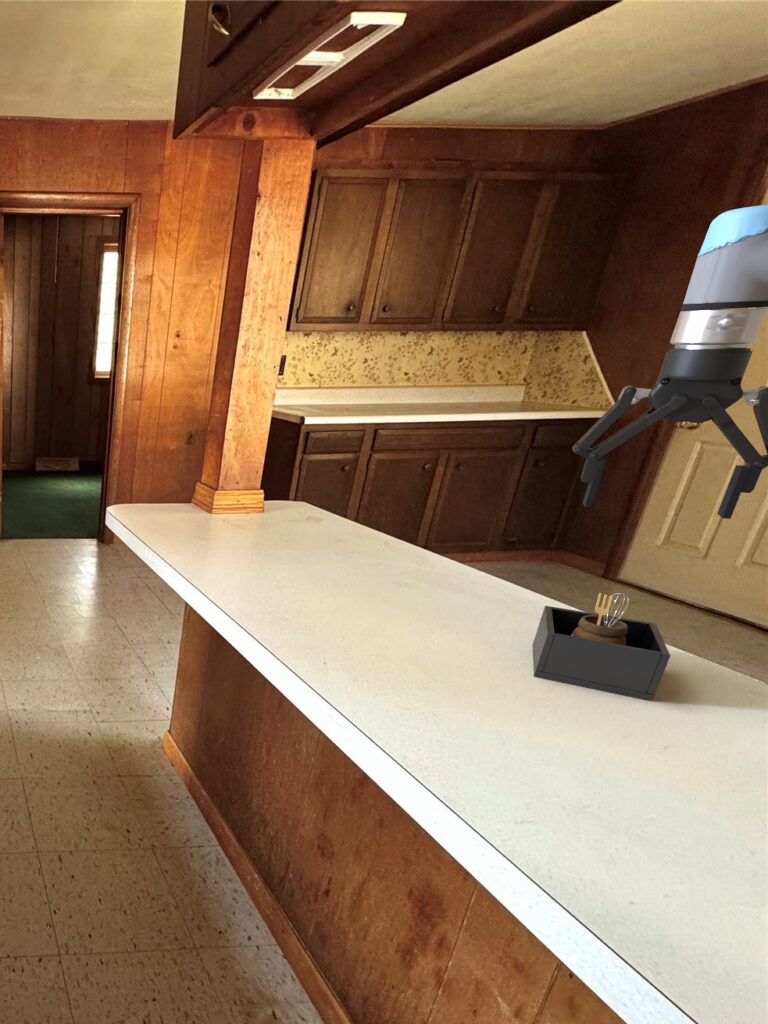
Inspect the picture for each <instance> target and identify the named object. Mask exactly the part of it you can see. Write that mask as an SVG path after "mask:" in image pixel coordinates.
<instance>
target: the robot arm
mask: <svg viewBox="0 0 768 1024" xmlns="http://www.w3.org/2000/svg"><path fill="white" fill-rule="evenodd" d="M682 304H683V305H682V306H681V310H680V311H679V315H678V318H677V320H676V323H675V326H674V329H673V332H672V334H671V338H670V340H669V343H670V344H671V345H674V347H673V348H671V349H669V351H666V354H665V356H664V359H663V362H662V365H661V368H660V372H659V375H658V377H657V380H656V383H655V384H653V386H652V387H651V388H645V387H644V388H643V387H635V386H632V385H625V386H624V387H622V389H621V391H620V392H619V395H618V397H617V400H616V401H615V403H614V404H613V405H611V406H610V408H608V410H606V411H605V413H603V415H602V416H601V417H600V418H599V419H598V420H597V421H596V422H595V423H594V424H593V425H592V426H591V427H590V428H589V429H588V430H587V431H586V432H585V433H584V434H583V435H582V436H581V438H579V440H578V441H576V443H575V444H573V446H572V448H571V449H572V452H573V454H575V455H578V456H581V457H584V459H585V461H584V465H583V468H582V471H581V475H580V479H581V481H582V483H588V486H587V488H586V490H585V491H586V492H585V494H584V497H583V501H582V504H583V506H584V507H585V508H593V504H594V501H595V498H596V495H597V492H598V489H599V486H600V483H601V480H602V477H603V473H604V470H605V466H606V463H607V461H606V459H605V458H603V457H604V456H605V455H607V454H608V453H610V452H611V451H613V450H614V449H616V448H618V447H619V446H620V445H622V444H624V443H625V442H627V441H628V440H630V439H631V438H633V437H635V436H636V435H638V434H639V433H640V432H642V431H644V430H645V429H647V428H649V427H650V426H653V425H654V424H655V423H657V422H659V421H660V420H663V421H665V422H667V423H682V422H688V423H692V424H703V423H705V422H709V421H711V422H712V423H713V424H714V425H715V426H716V428H717V429H718V430H719V431H720V432H721V434H722V435H723V436H724V438H726V440H727V441H728V443H730V445H731V446H732V447H733V448H734V450H735V451H736V452H737V454H738V455H739V456H740V457H741V458H742V460H743V461H744V462H745V465H741V464H740V465H738V464H736V465H735V467H734V469H733V472H732V475H731V477H730V480H729V482H728V485H727V486H726V490H725V493H724V495H723V498H722V500H721V503H720V505H719V508H718V510H717V515H718V516H719V517H720V518H721V519H728V520H731V519H732V517H733V514H734V511H735V509H736V506H737V505H738V502H739V500H740V496H741V494H742V493H743V494H744V493H745V494H751V493H752V492H753V491H754V490H755V489H756V486H757V483H758V480H759V478H760V476H761V474H762V471H763V470H764V469H766V468H767V467H768V386H767V385H763V386H762V385H761V386H759V387H757V388H755V387H754V388H743V387H742V381H743V378H744V376H745V373H746V371H747V368H748V365H749V364H750V363H749V362H750V360H751V357H752V354H753V352H754V351H753V350H752V348H751V347H749V348H748V346H749V344H754V343H756V342H757V341H758V338H759V336H760V333H761V330H762V327H763V325H764V322H765V319H766V316H767V314H768V204H761V205H754V206H753V205H752V206H747V207H740V208H735V209H730V210H726V211H724V212H722V213H721V214H719V215H718V216H717V217H715V218H714V219H713V220H711V222H710V224H709V228H708V230H707V232H706V235H705V238H704V240H703V241H702V245H701V247H700V250H699V252H698V254H697V257H696V261H695V264H694V267H693V271H692V274H691V276H690V280H689V283H688V287H687V290H686V293H685V297H684V300H683V302H682ZM645 398H647V399H648V401H649V403H650V404H651V406H652V407H651V408H650V409H648V410H646V412H644V413H642V414H641V415H640V416H639V417H637V418H636V419H635V420H633V421H631V422H630V423H628V424H627V425H625V426H624V427H622V428H621V429H619V430H618V431H617V432H615V433H613V434H612V435H611V436H609V437H608V438H606V439H604V440H603V441H601V442H600V443H598V444H597V445H596V446H594V447H591V446H592V445H593V444H594V443H595V442H596V441H597V440H598V439H599V438H600V437H601V436H602V435H603V434H604V433H605V432H606V431H607V430H608V429H609V428H610V427H611V426H612V425H613V424H614V423H615V422H616V421H617V420H618V419H619V418H620V417H621V416H622V415H623V414H624V413H625V412H626V410H628V409H629V407H630V406H631V405H636V404H638V403H639V402H640V401H641V400H642V399H645ZM741 399H744V400H745V403H746V405H748V406H751V407H752V410H753V414H754V417H755V420H756V423H757V426H758V430H759V433H760V435H761V439H762V442H763V446H764V448H765V451H766V454H763V455H762V454H760V453H759V451H758V450H757V449H756V447H755V446H754V445H753V444H752V442H750V440H749V439H748V438H747V436H746V435H745V434H744V433H743V431H742V430H741V429H740V428H739V426H738V425H737V424H736V423H735V421H734V419H733V418H732V417H731V416H730V414H729V413H728V412H727V411H726V410H727V409H728V408H730V407H731V406H733V405H734V404H736V403H737V402H738V401H740V400H741Z"/></svg>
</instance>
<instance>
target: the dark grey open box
mask: <svg viewBox="0 0 768 1024" xmlns="http://www.w3.org/2000/svg"><path fill="white" fill-rule="evenodd" d="M587 615H597V616H599V614H598V613H595V612H594V613H593V612H588V611H582V610H576V609H570V608H562V607H555V606H550V605H544V608H543V609H542V614H541V617H540V619H539V624H538V627H537V629H536V633H535V635H534V640H533V642H532V663H533V677H535V678H540V679H545V680H549V681H554V682H559V683H564V684H569V685H574V686H578V687H582V688H587V689H593V690H597V691H601V692H607V693H611V694H615V695H621V696H625V697H630V696H631V698H635V697H636V699H640V700H644V701H649V702H652V701H653V699H654V697H655V694H656V692H657V690H658V687H659V685H660V682H661V680H662V678H663V675H664V673H665V670H666V667H667V665H668V663H669V660H670V658H671V653H670V651H669V649H668V647H667V644H666V643H665V640H664V639H663V636H662V634H661V632H660V630H659V627H658V625H657V623H656V622H650V621H643V620H637V619H632V618H625V617H621V618H620V616H619V617H618V616H614V615H613V616H614V617H613V616H612V615H608V614H607V615H608V617H609V616H610V617H609V618H613V619H615V618H616V619H617V620H618V619H619V618H620V619H619V621H622V622H624V623H625V624H627V626H628V631H627V634H626V635H624V636H625V638H626V645H625V646H624V645H618V644H613V643H607V642H602V641H596V640H590V639H585V638H579V637H573V636H571V635H572V633H573V631H574V630H575V629H576V628H577V627H579V621H580V619H581V618H582V617H583V616H587ZM607 615H605V617H607ZM603 616H604V615H603Z"/></svg>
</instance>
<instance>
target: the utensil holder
mask: <svg viewBox="0 0 768 1024" xmlns="http://www.w3.org/2000/svg"><path fill="white" fill-rule="evenodd" d="M614 595H615V596H616V595H621V600H620V601H619V604H618V607H617V609H616V610H615V613H614V615H613V617H615V615H616V614H617V612H618V609H619V606H620V605H621V603H622V600H625V599H627V601H626V604H625V607H624V609H623V611H622V613H621V610H622V608H623V605H624V603H625V601H623V603H622V605H621V607H620V611H619V612H618V614H617V615H616V617H618V616H619V619H620V618H623V615H625V613H626V612H627V609H628V606H629V605H630V604H629V603H630V599H629V597H628V596H627V595H626V594H624V593H620V592H615V593H612V594H611V595H610V596H609V597H608V594H606V593H605V594H604V595H603V593H602V592H599V593H598V595H597V599H596V600H597V601H596V603H595V608H594V613H596V614H599V616H597V615H587V616H583V617H582V618H581V619H580V621H579V627H577V628H576V629H575V630H574V631H573V633H572V635H571V636H573V637H579V638H585V639H590V640H596V641H602V642H607V643H613V644H618V645H624V646H625V645H626V638H625V636H624V635H626V634H627V631H628V626H627V624H625V623H624V622H622V621H619V619H618V620H617V619H616V618H615V619H613V618H609V617H610V616H611V613H612V611H613V608H614V607H615V604H616V602H617V600H618V598H619V596H616V599H615V597H614ZM602 596H603V599H602ZM601 599H602V603H601ZM614 599H615V600H614ZM613 602H614V603H613ZM612 603H613V605H612ZM600 604H601V606H600ZM620 613H621V614H620ZM619 614H620V615H619ZM603 615H604V616H603ZM605 615H607V617H605ZM608 616H609V617H608Z"/></svg>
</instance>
